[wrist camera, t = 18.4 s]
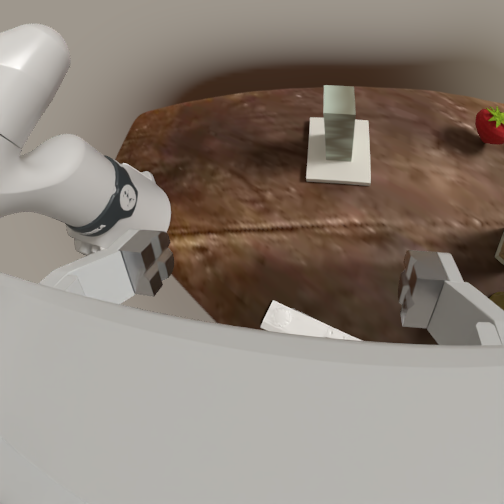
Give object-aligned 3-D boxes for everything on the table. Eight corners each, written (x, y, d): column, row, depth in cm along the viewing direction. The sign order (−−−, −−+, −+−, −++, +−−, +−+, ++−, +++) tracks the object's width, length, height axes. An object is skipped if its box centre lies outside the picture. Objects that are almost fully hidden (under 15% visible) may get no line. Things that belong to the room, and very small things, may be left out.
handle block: (326, 159, 46) (323, 113, 35) (326, 134, 47) (324, 85, 36) (351, 161, 45) (355, 114, 34) (351, 135, 46) (353, 86, 35)
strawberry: (499, 162, 40) (523, 133, 30) (465, 145, 42) (485, 113, 33) (499, 138, 41) (520, 108, 31) (467, 122, 43) (484, 89, 33)
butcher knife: (351, 375, 40) (352, 376, 39) (259, 330, 44) (257, 331, 43) (368, 342, 40) (369, 343, 39) (274, 299, 45) (273, 299, 44)
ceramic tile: (306, 181, 47) (305, 178, 46) (310, 120, 50) (310, 117, 49) (369, 185, 45) (370, 183, 44) (367, 124, 47) (368, 120, 46)
